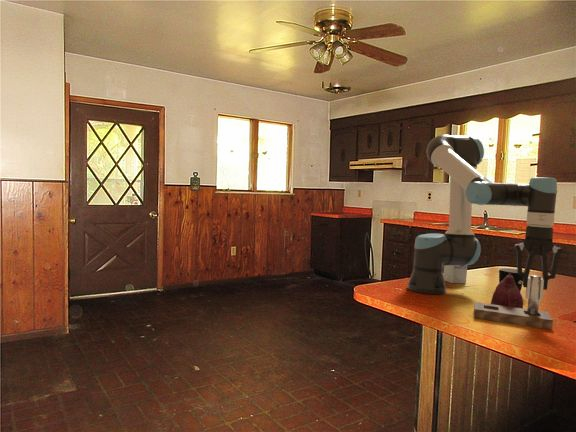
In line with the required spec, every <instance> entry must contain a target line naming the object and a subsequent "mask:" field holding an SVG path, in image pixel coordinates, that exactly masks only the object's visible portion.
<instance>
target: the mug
mask: <svg viewBox="0 0 576 432" xmlns="http://www.w3.org/2000/svg"><path fill="white" fill-rule="evenodd" d="M522 272H524V270H522ZM509 273H510V274H511V275H512V276H513V278H514V281H515V283H516V286H517V287H518V289H519V291H520V292H521V291H522V287H523V276H521V275H519V274H518V273H517V268H507V267H504V268H503V267H501V268H499V271H498V284H499V283H500V282H501V281H502V280H503V279H504V278H505V277H506V276H507V275H509Z"/></svg>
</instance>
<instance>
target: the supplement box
mask: <svg viewBox="0 0 576 432" xmlns="http://www.w3.org/2000/svg"><path fill="white" fill-rule="evenodd" d="M467 273H468V265H465V266H461V265H443V277H444V280H445V282H448V283H450V284H467V277H468V276H467V275H468V274H467Z"/></svg>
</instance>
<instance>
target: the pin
mask: <svg viewBox="0 0 576 432" xmlns="http://www.w3.org/2000/svg"><path fill="white" fill-rule="evenodd" d="M529 275H530V276H529V277H530V278H531V282H530V295H529V299H528V298H527V309H528V310H527V312H528V313H530V314H538V311H539V305H540V300H539V295H540V283H541V278H542V276H540V275H536V274H535V275H534V274H529Z"/></svg>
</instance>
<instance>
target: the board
mask: <svg viewBox="0 0 576 432" xmlns="http://www.w3.org/2000/svg"><path fill="white" fill-rule="evenodd" d="M473 307H474V308H473V313H474V314H473V315H474V317H473V318H474V319H477V318H478V320H479V319H480V320H484V319H486V320H485V321H491V320H492V321H491V322H498V323H505V324H512V325H517V326H518V325H519V326H525V327H532V328H538V329H545V330H549V331H550V330H551V331H553V323H554V319H553V318H552V316H551V315H550V314H549V312H548V311H543V310H538V314H530V313H528V312H527V310H528V308H524V307H523V308H515V307H508V306H501V305H493V304H491V303H486V302H479V301H478V302H477V301H474V306H473Z"/></svg>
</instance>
